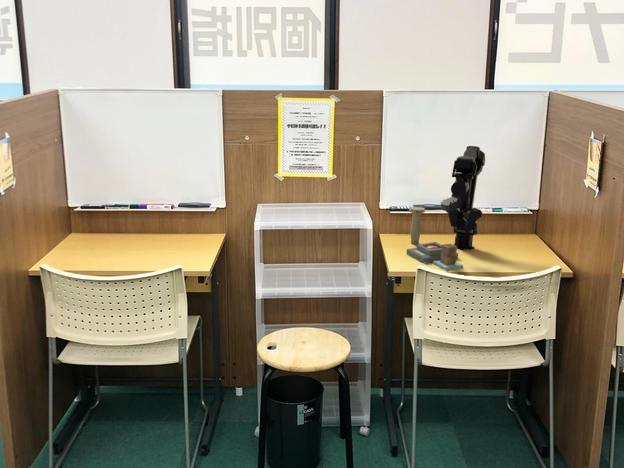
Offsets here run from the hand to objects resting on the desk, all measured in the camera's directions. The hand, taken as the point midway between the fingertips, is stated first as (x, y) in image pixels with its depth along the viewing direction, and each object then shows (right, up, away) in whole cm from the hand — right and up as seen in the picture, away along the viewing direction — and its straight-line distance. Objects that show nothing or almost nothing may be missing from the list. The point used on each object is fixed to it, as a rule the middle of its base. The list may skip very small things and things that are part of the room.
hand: (459, 229), depth 261 cm
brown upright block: (-6, -13, -6) cm, 15 cm away
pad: (-6, -14, -6) cm, 16 cm away
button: (-10, -10, +5) cm, 15 cm away
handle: (-14, -6, +21) cm, 26 cm away
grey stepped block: (-10, -10, +5) cm, 15 cm away
